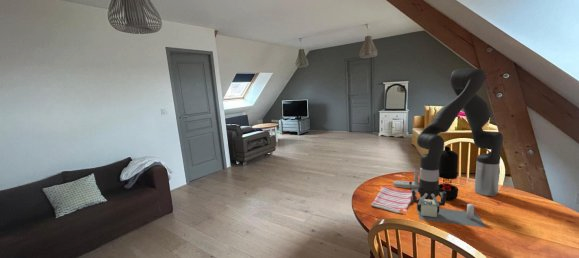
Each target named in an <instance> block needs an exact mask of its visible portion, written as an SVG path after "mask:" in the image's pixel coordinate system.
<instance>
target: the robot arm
mask: <svg viewBox="0 0 579 258" xmlns="http://www.w3.org/2000/svg"><path fill="white" fill-rule="evenodd" d="M486 75H487V74H486V72H485V70H484V69H482V68H472V67H471V68H469V67H467V68H466V67H465V68H461V67H460V68H457V69H455V70H453V71H452V72H451V75H450V77H449V78H450V86H451V88H452V89H453V91H454V93H455V95H456V97H455V98H453V99H452V100H451V101H449V102H447V103H446V104H444V105H443V106H442V107H441V108H439V110H438V111H437V113H436V114H435V116H434V118H433V119H432V121H431V122H430V123H429V124H427V126H426V127H425V128H424V129H423V130H422V131H421V132H420V133H419V135H418V136H417V139H416V142H417V145H418V146H419V147H420V148H421V149H426V150H428V152H427V153H423V154H422V155H421V156H420V164H419V165H420V168H419V173H418V182H419V188H418V189H411V190H410V191H412V197H413V200H412V202H413V203H414V204H416V206H417V208H416V210H417V209H418V211H419V212H421V203H422V201H424V199H425V200H434V201H435V203H436V205H437V214H438V213H439V209H440V207H441V206H442V207H445V206H446V205H445V204H446V201H447V200H446V197H447V194H446V192H445V191H443V192H441V191H439V184H440V177H439V159H440V156H441V154H442V151H443V150H444V149H445V141H444V138H443V137H442V136H441V135H439V134H441V133H442V134H443V133H446V132H448V131H449V130H450V129H451V126H452V124H453V123H454V122H455V120H456V118H457V117H458V116H459V114H460V113H461V112H462V110H463V112H464V116H465V118H466V120H467V122H468V124H469V127H470V130H471V136H472V139H473V142H474V145H475V146H476V147H477V148H479V149H483V150H490V152H488V153H481V154H478V155H477V156H476V163H475V164H476V165H475V167H476V168H475V177H474V178H475V180H474V192H475V193H476V194H478V195H481V196H486V197H495V196H497V195H498V192H499V181H500V176H499V174H500V164H501V163H500V161H501V156H502V148H503V142H504V136H503V134H502V133H501V132H497V131H491V130H490V131H488V130H484V129H483V128H484V127H485V125H486V124H488V122H489V121H490V119H491V117H492V115H491V114H492V113H491V110H490V108H489V107H490V106H489V104H488V103H487V102H486V101H485V100H484V99H483V98H482V97H481V96H480V95H478V94H477V93H478V92H479V91H480V90H481V88H482V86H483V85H484V84H485V80H486ZM417 194H419V197H418V199H417V197H416V195H417ZM439 194H440V195H441V197H440V201H439V200H438V199H437V197H438V196H439ZM418 211H417V212H418Z"/></svg>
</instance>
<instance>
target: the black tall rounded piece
mask: <svg viewBox="0 0 579 258" xmlns="http://www.w3.org/2000/svg"><path fill="white" fill-rule="evenodd" d="M458 160H459V155H458V153H457V152H456V151H454V150H451V147H449V146H444V149H443V151H442V154H441V156H440V159H439V178H441V179H442V183H439V191H441V192H443V191H445V192H446V194H447V197H446V201H452V200H456V199H457V197H458V196H459V195H458V194H459V188H458V186H456V185H453V184H452V180H455V179H457V178H458V162H459V161H458ZM447 181H448V182H447ZM438 196H439V198H441V195H440V194H439V195H438Z"/></svg>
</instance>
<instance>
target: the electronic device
mask: <svg viewBox="0 0 579 258" xmlns="http://www.w3.org/2000/svg"><path fill="white" fill-rule="evenodd" d="M413 173H414V175H413V179H414V181H408V180H393V181H392V185H393V187H395V188H400V187H401V188H402V189H410V188H411V189H414V190H417V189H418V188H419V173H418V171H414V172H413Z"/></svg>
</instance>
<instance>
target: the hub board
mask: <svg viewBox="0 0 579 258" xmlns="http://www.w3.org/2000/svg"><path fill="white" fill-rule="evenodd" d="M426 200H427V199H425V202H424V204H427V205H432V204H431V202H430V201H426ZM415 207H416V212H417V214H418V218H419V220H420V221H425V222H427V221H428V222H437V223H442V224H443V223H445V224H452V225H461V226H468V227H478V228H488V227H487V226H486V224H485V223H484V222H483V220H482V219H481V217H480V216H479V214H478V213H477V212H476V211H475V204H472V203H467V204H466V211H465V210H457V209H449V208H448V209H447V208H439V213H438V214H437V217H431V216H422V215H421V212H419V211H418V209H417V205H416V206H415Z"/></svg>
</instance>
